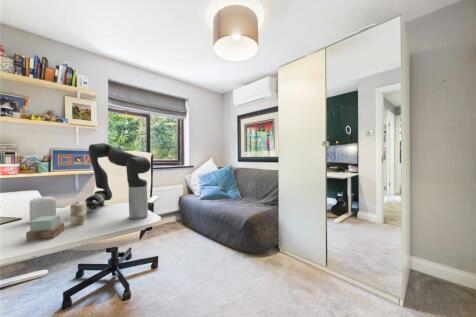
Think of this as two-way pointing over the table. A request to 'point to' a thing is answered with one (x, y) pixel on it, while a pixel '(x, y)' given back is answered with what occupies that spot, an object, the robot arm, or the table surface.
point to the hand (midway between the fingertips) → (84, 208)
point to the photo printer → (42, 207)
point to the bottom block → (45, 233)
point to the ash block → (78, 213)
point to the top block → (45, 223)
